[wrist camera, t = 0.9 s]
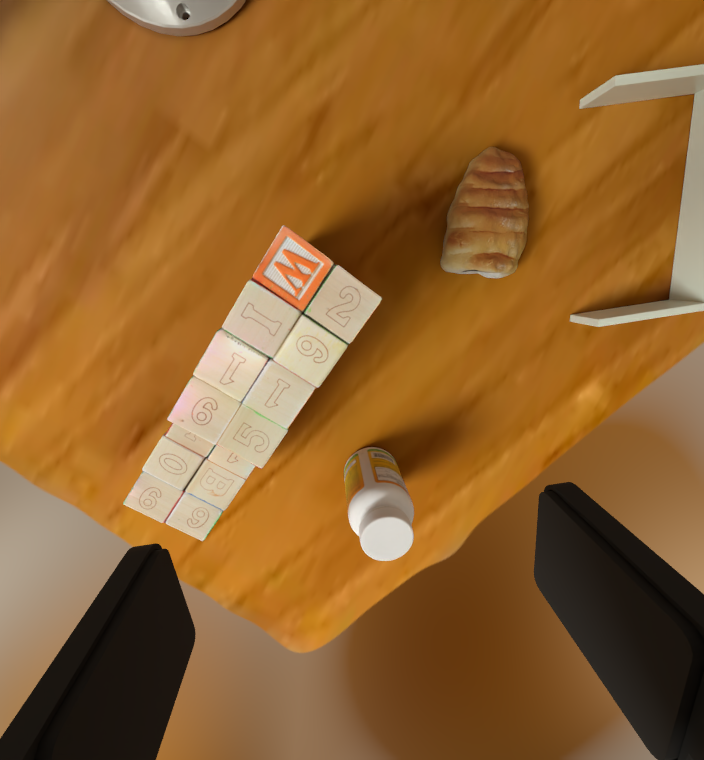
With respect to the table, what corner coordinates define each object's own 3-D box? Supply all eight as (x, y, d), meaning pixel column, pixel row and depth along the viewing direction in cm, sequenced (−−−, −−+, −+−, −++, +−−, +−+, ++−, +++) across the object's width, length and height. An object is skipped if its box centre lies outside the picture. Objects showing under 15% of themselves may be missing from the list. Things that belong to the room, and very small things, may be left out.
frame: (579, 99, 27) (615, 75, 24) (703, 83, 28) (755, 57, 24) (569, 321, 32) (598, 326, 29) (674, 305, 33) (714, 309, 29)
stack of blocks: (233, 474, 34) (186, 578, 23) (173, 442, 33) (90, 535, 21) (361, 288, 30) (386, 298, 18) (299, 242, 29) (283, 221, 17)
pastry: (449, 151, 28) (468, 132, 24) (529, 158, 29) (560, 141, 25) (434, 275, 31) (450, 275, 27) (509, 279, 31) (534, 280, 28)
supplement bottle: (353, 500, 36) (364, 578, 27) (335, 456, 34) (340, 523, 25) (403, 483, 36) (431, 555, 27) (388, 438, 34) (412, 498, 25)
